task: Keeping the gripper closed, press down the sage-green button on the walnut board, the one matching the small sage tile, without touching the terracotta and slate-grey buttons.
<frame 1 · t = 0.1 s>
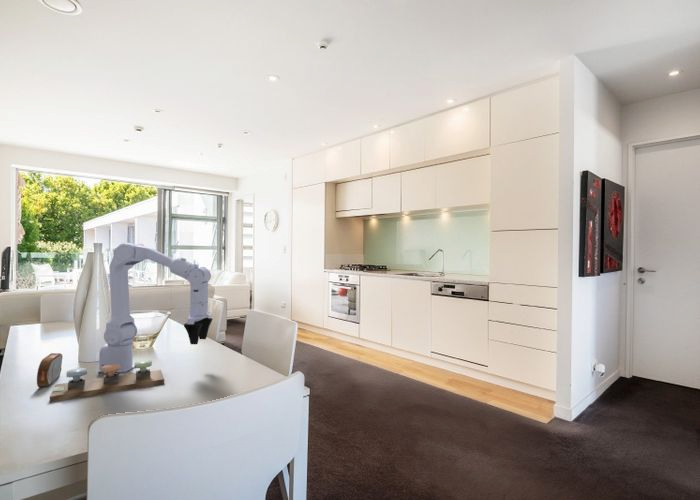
hand: (198, 341, 130), 10 cm above the table, tool pointing down, fingers open, 7 cm apart
button board: (111, 386, 114), on the table
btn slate: (76, 375, 109), point 5 cm above the table, slide at 0.0 cm
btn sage: (143, 366, 118), point 5 cm above the table, slide at 0.0 cm
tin: (50, 383, 117), on the table
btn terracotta: (111, 371, 114), point 5 cm above the table, slide at 0.0 cm
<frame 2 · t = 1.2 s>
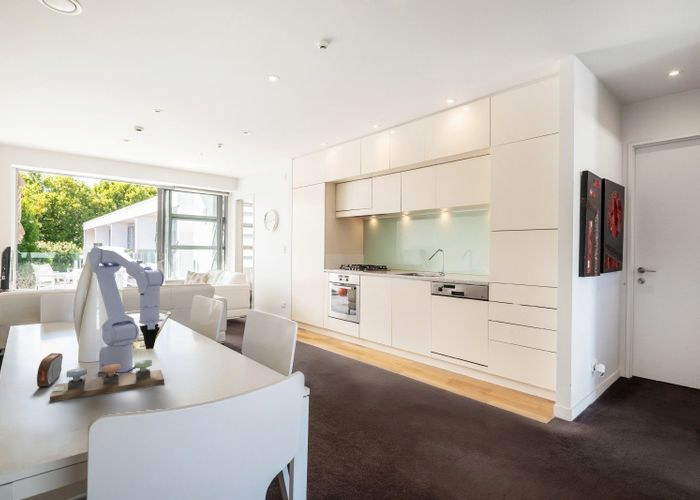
hand: (149, 347, 124), 9 cm above the table, tool pointing down, fingers open, 3 cm apart
nothing on the table moved.
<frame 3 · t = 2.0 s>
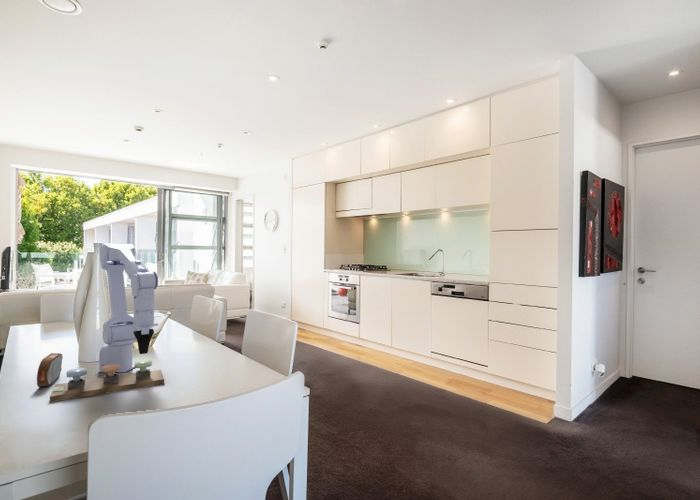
hand: (143, 353, 118), 9 cm above the table, tool pointing down, fingers closed
nothing on the table moved.
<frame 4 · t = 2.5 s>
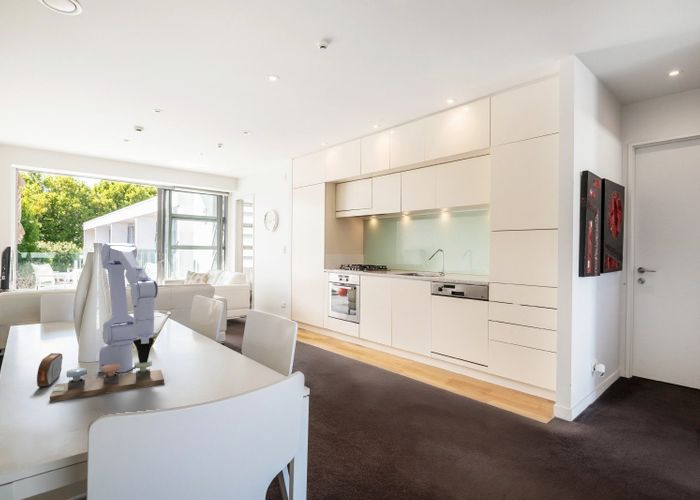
hand: (143, 362, 118), 6 cm above the table, tool pointing down, fingers closed, pressing on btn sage
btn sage: (143, 366, 118), point 5 cm above the table, slide at 0.0 cm, touching gripper
everything else where it was.
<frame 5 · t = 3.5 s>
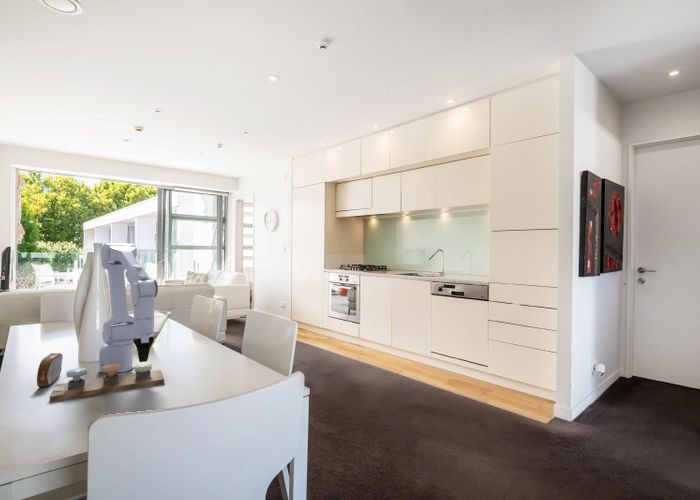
hand: (143, 361, 118), 6 cm above the table, tool pointing down, fingers closed
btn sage: (143, 370, 118), point 3 cm above the table, slide at 1.2 cm
everything else where it was.
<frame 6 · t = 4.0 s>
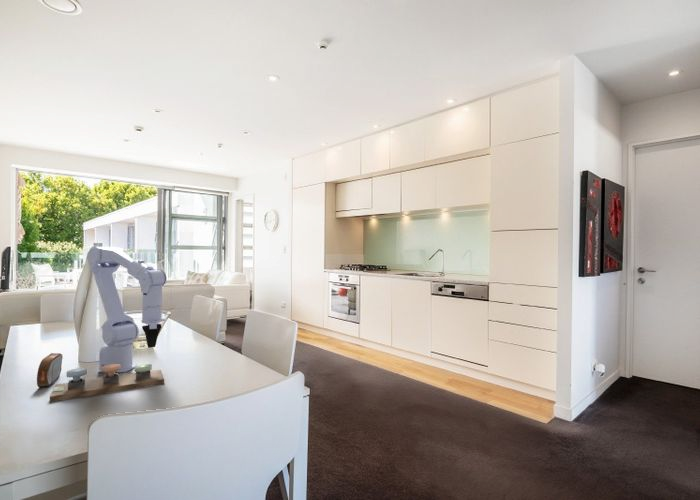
hand: (151, 347, 125), 9 cm above the table, tool pointing down, fingers closed
nothing on the table moved.
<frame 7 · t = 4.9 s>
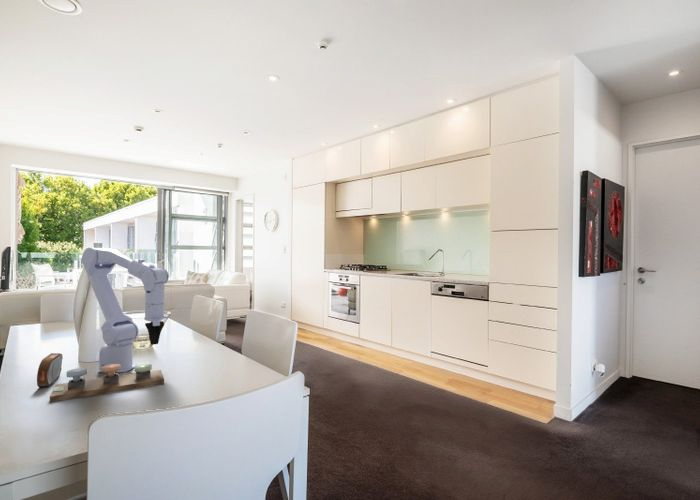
hand: (154, 344, 127), 10 cm above the table, tool pointing down, fingers closed
nothing on the table moved.
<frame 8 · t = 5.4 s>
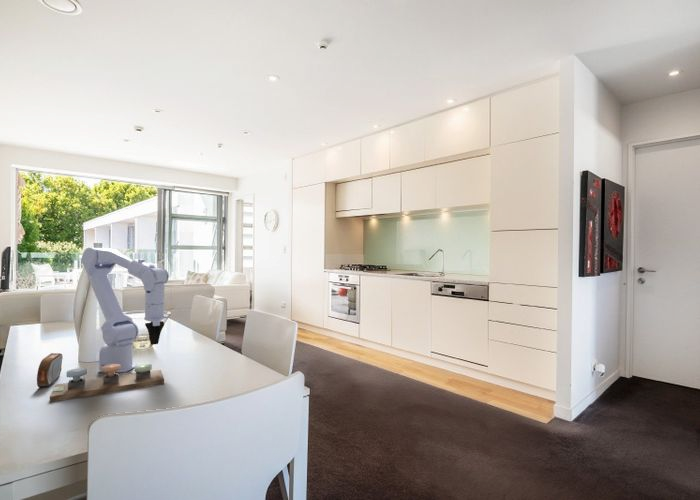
hand: (154, 344, 127), 10 cm above the table, tool pointing down, fingers closed
nothing on the table moved.
at the end: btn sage slide at 1.2 cm; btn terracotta slide at 0.0 cm; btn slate slide at 0.0 cm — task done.
